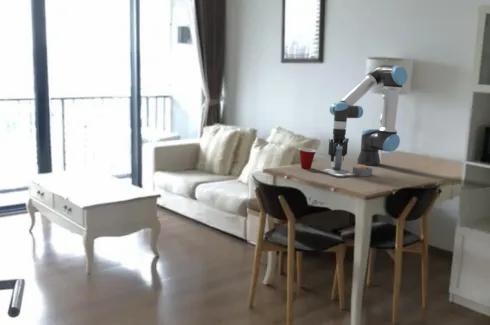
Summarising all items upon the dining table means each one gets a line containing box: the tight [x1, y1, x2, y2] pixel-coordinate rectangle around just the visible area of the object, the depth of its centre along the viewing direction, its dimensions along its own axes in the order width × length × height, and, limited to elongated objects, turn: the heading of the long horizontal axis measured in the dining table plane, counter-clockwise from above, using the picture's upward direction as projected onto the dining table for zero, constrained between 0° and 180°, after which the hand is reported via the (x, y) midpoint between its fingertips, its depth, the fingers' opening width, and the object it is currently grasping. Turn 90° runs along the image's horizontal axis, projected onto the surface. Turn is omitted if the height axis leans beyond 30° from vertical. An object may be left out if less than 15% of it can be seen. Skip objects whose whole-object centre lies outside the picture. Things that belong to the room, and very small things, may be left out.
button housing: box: [352, 166, 373, 177], centre depth 328 cm, size 8×8×4 cm
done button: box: [358, 164, 368, 169], centre depth 327 cm, size 4×4×2 cm
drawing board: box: [316, 168, 359, 179], centre depth 326 cm, size 15×20×1 cm
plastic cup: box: [298, 147, 317, 170], centre depth 339 cm, size 11×11×12 cm
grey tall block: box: [331, 144, 343, 170], centre depth 332 cm, size 5×5×14 cm
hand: (336, 166), depth 333 cm, fingers closed on grey tall block, 5 cm apart
